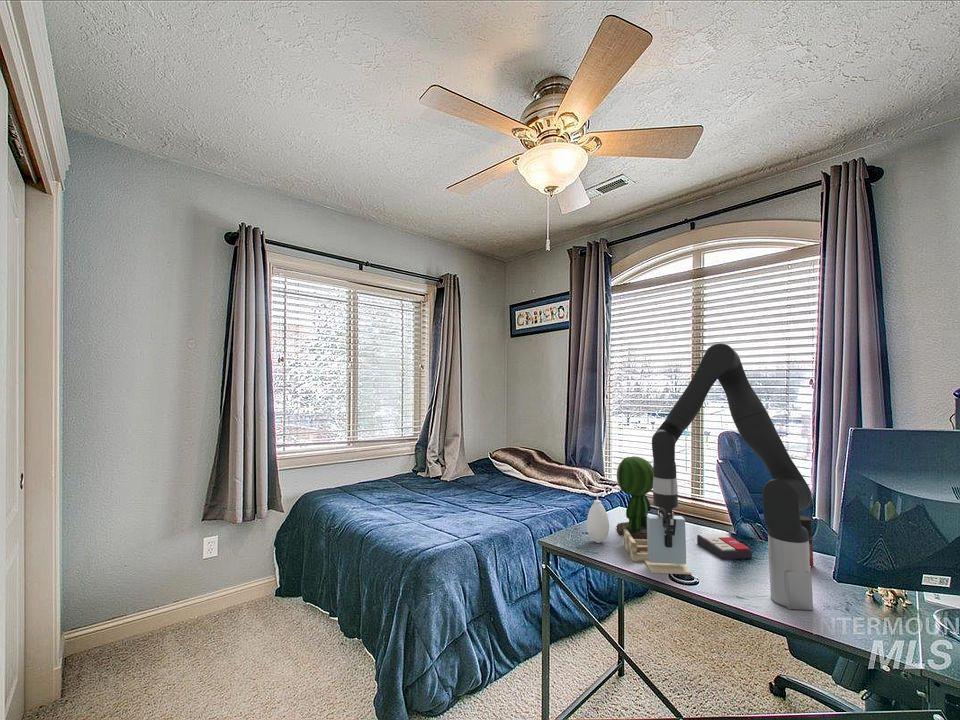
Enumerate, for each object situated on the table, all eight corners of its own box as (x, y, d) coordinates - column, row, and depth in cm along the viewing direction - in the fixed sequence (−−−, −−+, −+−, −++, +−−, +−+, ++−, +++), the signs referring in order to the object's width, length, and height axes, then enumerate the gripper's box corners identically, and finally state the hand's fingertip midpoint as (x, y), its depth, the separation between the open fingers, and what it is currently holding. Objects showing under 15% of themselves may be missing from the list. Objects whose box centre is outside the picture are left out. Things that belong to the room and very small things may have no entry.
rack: (684, 563, 147) (683, 544, 148) (633, 561, 149) (632, 543, 149) (670, 547, 162) (669, 530, 162) (623, 545, 164) (623, 529, 164)
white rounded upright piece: (598, 547, 162) (597, 497, 163) (583, 540, 169) (582, 492, 170) (613, 543, 166) (612, 494, 167) (598, 537, 173) (597, 490, 174)
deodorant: (798, 559, 150) (796, 514, 151) (817, 565, 145) (815, 519, 146) (787, 562, 148) (785, 516, 149) (806, 568, 142) (803, 521, 143)
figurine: (625, 522, 191) (623, 452, 193) (672, 532, 178) (670, 457, 180) (606, 532, 179) (604, 456, 181) (655, 543, 165) (652, 462, 167)
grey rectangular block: (686, 564, 142) (685, 519, 142) (650, 562, 143) (649, 518, 144) (682, 559, 145) (681, 516, 146) (647, 558, 146) (646, 515, 147)
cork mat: (691, 574, 139) (691, 572, 139) (651, 572, 140) (651, 570, 140) (681, 563, 147) (681, 561, 148) (644, 561, 149) (644, 559, 149)
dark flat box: (722, 549, 151) (696, 532, 166) (722, 562, 151) (696, 544, 166) (752, 548, 152) (724, 531, 167) (752, 561, 152) (724, 543, 167)
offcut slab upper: (664, 547, 154) (662, 545, 156) (638, 547, 155) (636, 545, 157) (664, 556, 154) (662, 553, 156) (638, 556, 154) (636, 553, 156)
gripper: (684, 496, 138) (686, 553, 137) (670, 486, 152) (671, 537, 151) (659, 496, 139) (660, 552, 138) (647, 485, 153) (648, 536, 152)
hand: (666, 544), depth 144 cm, fingers closed on grey rectangular block, 3 cm apart
